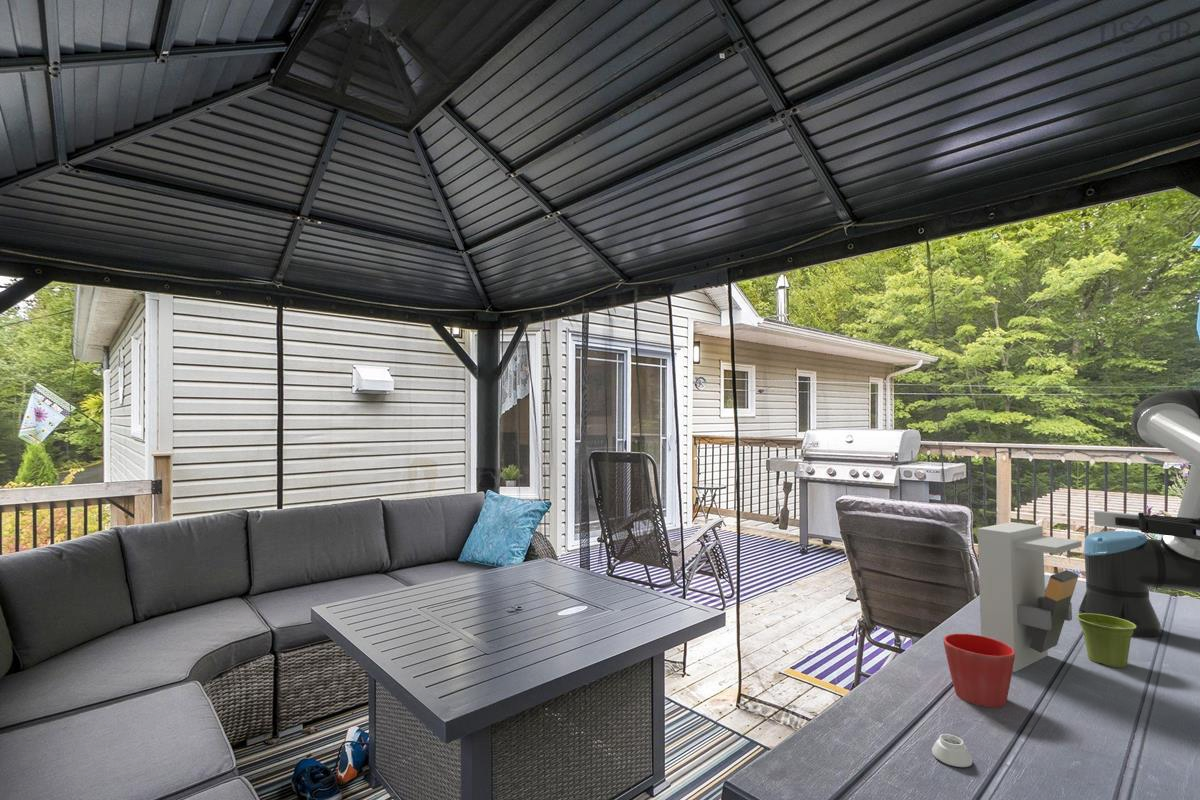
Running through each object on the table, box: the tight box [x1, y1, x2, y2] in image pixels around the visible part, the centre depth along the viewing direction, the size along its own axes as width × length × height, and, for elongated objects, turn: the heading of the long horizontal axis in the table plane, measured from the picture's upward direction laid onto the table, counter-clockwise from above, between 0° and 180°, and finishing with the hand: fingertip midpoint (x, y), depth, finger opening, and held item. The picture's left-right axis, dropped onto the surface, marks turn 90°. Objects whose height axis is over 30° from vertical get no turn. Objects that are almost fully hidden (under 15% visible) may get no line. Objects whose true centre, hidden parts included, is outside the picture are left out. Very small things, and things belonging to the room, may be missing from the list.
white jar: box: [931, 733, 973, 768], centre depth 83 cm, size 5×3×5 cm
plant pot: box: [1076, 613, 1136, 668], centre depth 118 cm, size 9×9×9 cm
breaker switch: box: [1030, 569, 1079, 653], centre depth 114 cm, size 9×2×16 cm, turn 122°
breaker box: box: [977, 521, 1083, 673], centre depth 117 cm, size 16×13×28 cm
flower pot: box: [942, 633, 1015, 708], centre depth 102 cm, size 11×11×10 cm
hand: (1095, 517), depth 108 cm, fingers closed
